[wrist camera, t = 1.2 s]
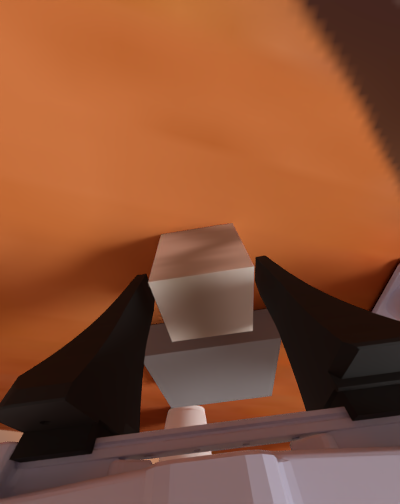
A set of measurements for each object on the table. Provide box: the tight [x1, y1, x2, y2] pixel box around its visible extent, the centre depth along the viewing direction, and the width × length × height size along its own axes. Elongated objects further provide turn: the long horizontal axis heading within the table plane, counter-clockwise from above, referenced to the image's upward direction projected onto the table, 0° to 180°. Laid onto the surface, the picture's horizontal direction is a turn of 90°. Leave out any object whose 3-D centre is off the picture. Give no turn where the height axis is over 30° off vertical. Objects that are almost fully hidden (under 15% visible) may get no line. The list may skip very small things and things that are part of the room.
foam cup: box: [159, 405, 212, 462], centre depth 25 cm, size 10×9×13 cm
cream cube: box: [148, 223, 254, 342], centre depth 12 cm, size 5×5×5 cm
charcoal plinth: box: [144, 309, 281, 408], centre depth 20 cm, size 12×12×3 cm
